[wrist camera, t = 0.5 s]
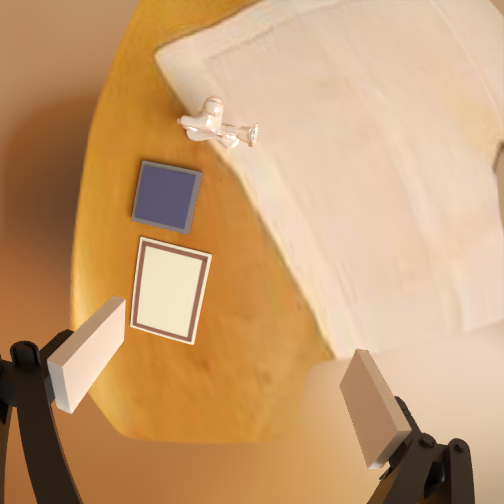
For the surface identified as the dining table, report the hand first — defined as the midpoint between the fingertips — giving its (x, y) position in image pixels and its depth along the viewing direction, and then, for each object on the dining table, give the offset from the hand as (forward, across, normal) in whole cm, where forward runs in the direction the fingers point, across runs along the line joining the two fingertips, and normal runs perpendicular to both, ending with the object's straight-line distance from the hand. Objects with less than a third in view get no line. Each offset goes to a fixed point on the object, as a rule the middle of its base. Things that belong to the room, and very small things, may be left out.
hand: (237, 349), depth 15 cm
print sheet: (+24, -10, -9) cm, 27 cm away
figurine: (+24, -7, +13) cm, 29 cm away
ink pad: (+24, -12, +4) cm, 27 cm away
